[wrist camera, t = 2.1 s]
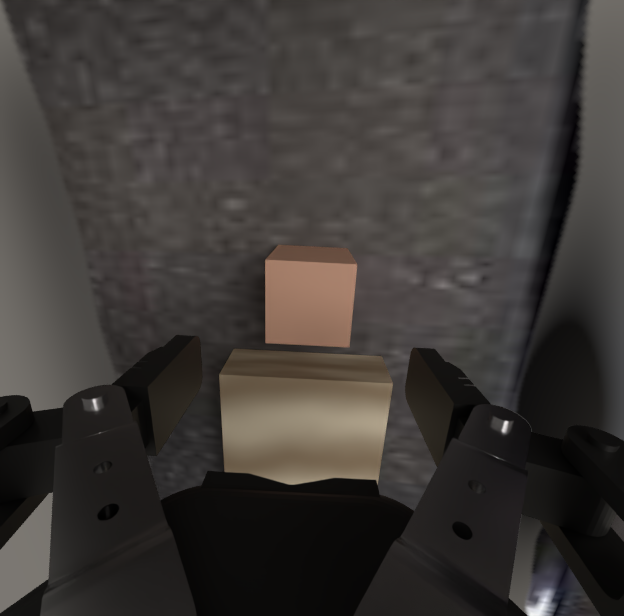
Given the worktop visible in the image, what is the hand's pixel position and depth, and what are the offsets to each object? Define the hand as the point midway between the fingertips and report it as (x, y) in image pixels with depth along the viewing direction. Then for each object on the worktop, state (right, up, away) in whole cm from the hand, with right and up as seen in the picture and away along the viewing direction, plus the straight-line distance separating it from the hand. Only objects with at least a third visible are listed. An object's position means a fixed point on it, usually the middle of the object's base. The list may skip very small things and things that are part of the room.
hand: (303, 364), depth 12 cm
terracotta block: (0, +4, +12) cm, 12 cm away
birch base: (0, -8, +16) cm, 18 cm away
